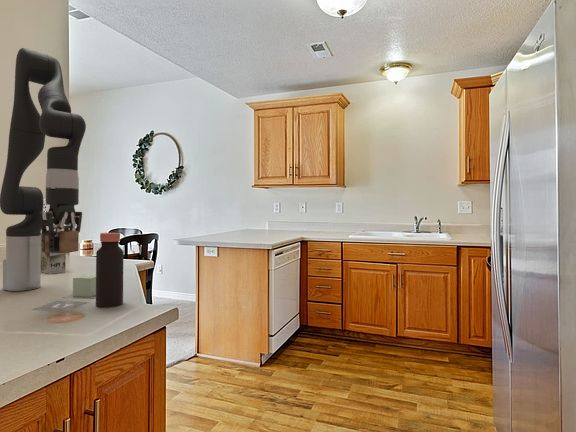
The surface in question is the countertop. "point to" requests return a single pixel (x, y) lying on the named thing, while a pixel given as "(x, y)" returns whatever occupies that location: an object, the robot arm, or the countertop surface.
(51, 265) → the coffee box
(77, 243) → the walnut block
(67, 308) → the tile
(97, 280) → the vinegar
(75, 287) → the sage block
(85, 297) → the code tile
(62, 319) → the terracotta coaster
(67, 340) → the countertop surface
